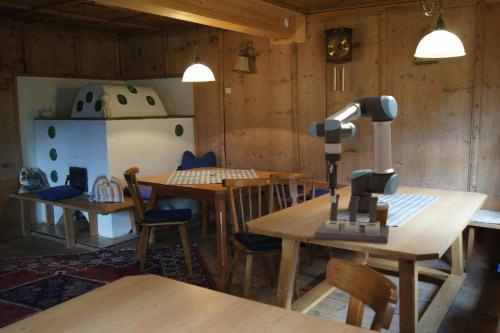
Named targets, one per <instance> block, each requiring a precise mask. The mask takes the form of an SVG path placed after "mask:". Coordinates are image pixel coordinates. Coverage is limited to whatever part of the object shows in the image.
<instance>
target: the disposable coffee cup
mask: <svg viewBox="0 0 500 333" xmlns="http://www.w3.org/2000/svg"><path fill="white" fill-rule="evenodd" d="M389 208H390V205H389V203H388V202H385V201H377V213H376V221H379V222H380V226H387V221H388V213H389Z"/></svg>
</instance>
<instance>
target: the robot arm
mask: <svg viewBox="0 0 500 333" xmlns="http://www.w3.org/2000/svg"><path fill="white" fill-rule="evenodd" d="M397 115H398V104H397V101H396V99H395V98H394V97H393V96H391V95H375V96H373V95H372V96H369V95H368V96H363V97H360V98H357V99H355V100H353V101H351V102H349V103H347V104H346V105H345V107H344V108H341V109H340V110H339V111H337V112H336V113H334V114H332V115H329V117H327V118H325V119H324V120H322V121H320V122H319V121H316V122H312V123H310V125H309V134H310V136H311V137H313V138H317V139H321V138H322V139H324V145H323V148H324V152H325V154H324V161H325V162H329V165H327V168H328V169H327V170H328V171H327V172H328V190H329V203H331V202H334V203H336V194H337V189H338V187H339V186H338V168H339V164H337V162H341V161H342V153H341V152H342V139H350V138H353V136H355V134H356V131H357V130H356V126H355V125H354V124H353V123H352V121H356V120H358V119H362V118H363V119H364V118H366V119H370V122H371V123H372V124H373V129H374V132H373V133H374V158H375V159H374V161H375V162H374V163H375V164H374V166H375V168H374V169H373V170H372V169H370V168H369V169H359V170H355V171H352V172H351V176H350V196H359V201H358V204H357V214H358V213H361V214H362V213H363V214H364V213H367V214H368V213H370V197H373V194H374V195H381V196H382V195H383V196H393V195H394V194H396V192H397V190H398V189H399V185H400V177H399V175H398V174H397V173H395V172H396V170H395V169H394V168H393V167H392V164H393V163H392V132H391V130H392V128H391V125H392V123H393V122H394V118H396V117H397ZM348 202H349V203H348V204H347V211H349V212H350V206H351V200H350V199H349V201H348Z"/></svg>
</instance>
